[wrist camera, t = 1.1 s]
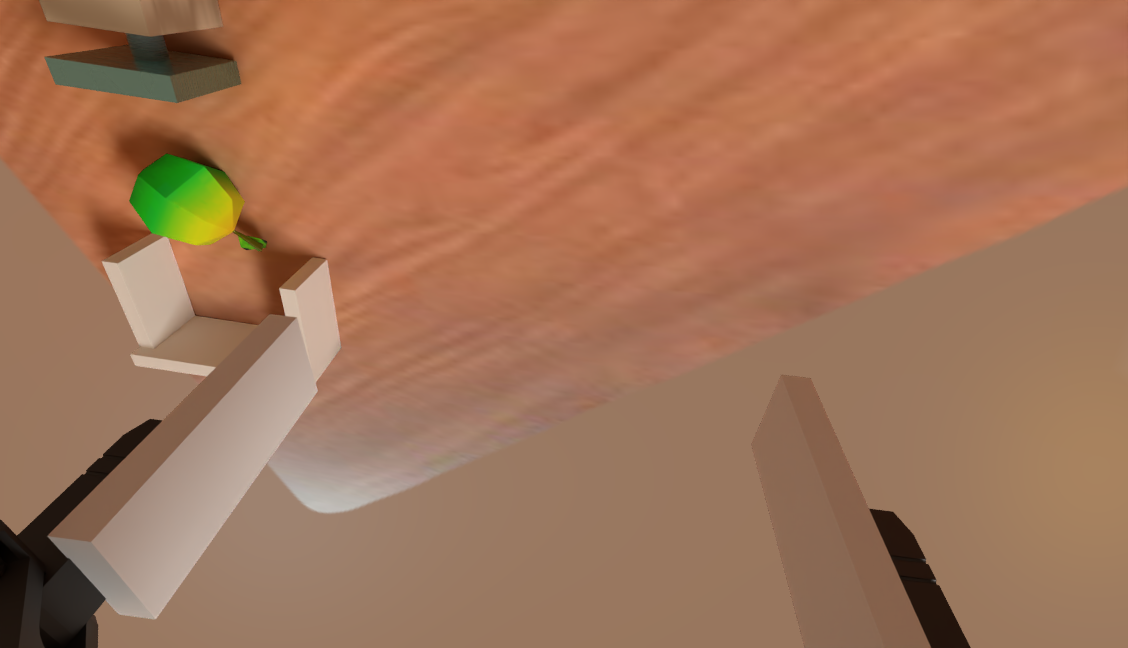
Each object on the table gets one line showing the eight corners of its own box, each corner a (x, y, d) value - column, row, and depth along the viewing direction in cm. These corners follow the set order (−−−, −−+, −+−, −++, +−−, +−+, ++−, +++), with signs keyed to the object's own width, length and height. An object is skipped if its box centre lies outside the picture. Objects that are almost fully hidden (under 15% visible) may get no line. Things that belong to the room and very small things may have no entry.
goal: (152, 232, 42) (90, 267, 37) (326, 259, 42) (288, 297, 37) (186, 324, 47) (135, 365, 42) (341, 347, 47) (308, 391, 42)
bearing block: (124, -25, 31) (29, -24, 26) (214, -11, 31) (137, -8, 26) (136, 13, 33) (47, 20, 27) (223, 26, 33) (150, 36, 27)
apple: (84, 196, 32) (223, 280, 35) (153, 119, 33) (283, 207, 36) (135, 216, 39) (248, 286, 41) (191, 152, 40) (298, 224, 42)
